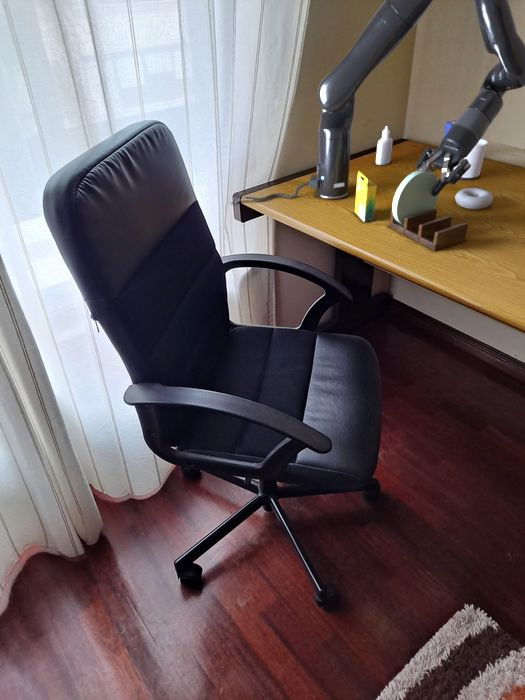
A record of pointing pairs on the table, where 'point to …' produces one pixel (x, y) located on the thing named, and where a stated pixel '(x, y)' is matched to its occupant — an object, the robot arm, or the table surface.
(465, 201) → the donut
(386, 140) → the eye dropper bottle
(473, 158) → the mug
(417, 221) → the rack
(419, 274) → the table surface
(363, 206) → the crayon box
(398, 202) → the plate
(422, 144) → the table surface
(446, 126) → the walkman
